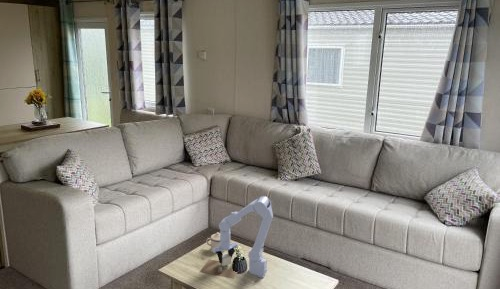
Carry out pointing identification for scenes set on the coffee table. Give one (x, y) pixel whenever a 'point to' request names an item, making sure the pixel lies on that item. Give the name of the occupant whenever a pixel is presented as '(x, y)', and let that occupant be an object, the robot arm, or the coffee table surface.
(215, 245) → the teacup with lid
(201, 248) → the coffee table surface
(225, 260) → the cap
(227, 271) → the board
